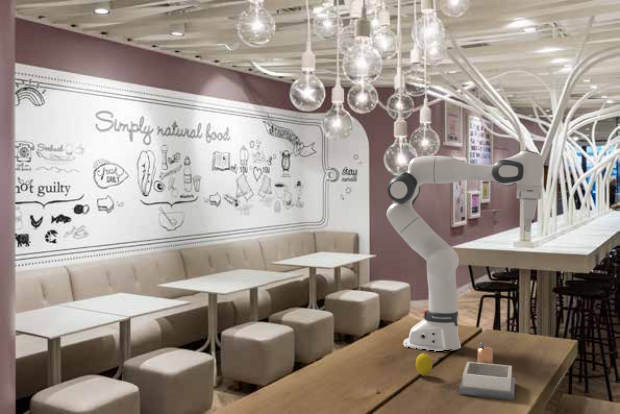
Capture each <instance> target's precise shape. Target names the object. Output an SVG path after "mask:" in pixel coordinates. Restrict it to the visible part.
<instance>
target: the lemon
mask: <svg viewBox="0 0 620 414" xmlns="http://www.w3.org/2000/svg"><path fill="white" fill-rule="evenodd" d="M415 369H416V371H417V372H418V374H420V375H421V376H423V377H426V375H428V374H430V373H431V371H432V369H433V361H432V358H431V356H430V355H429V354H427V353H426V352H421V353H419V355H418V356H416V360H415Z"/></svg>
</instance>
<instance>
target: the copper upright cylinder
mask: <svg viewBox="0 0 620 414" xmlns="http://www.w3.org/2000/svg"><path fill="white" fill-rule="evenodd" d="M493 352H494V350H493V348H492V347H489V346H485V343H484V342H480V343H479V347H477V355H476V356H477V359H476V363H487V364H494V363H493V361H494V360H493V358H494V356H493V354H494V353H493Z"/></svg>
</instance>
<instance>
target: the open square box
mask: <svg viewBox="0 0 620 414" xmlns="http://www.w3.org/2000/svg"><path fill="white" fill-rule="evenodd" d="M512 370H513V365H506V364H496V363H493V364H487V363H477V361H475V362H473V361H466V364H465V366H464V370H463V373H462V378H461V380H460V384H459V387H458V394H459V395H465V396H473V397H479V398H480V397H483V398H489V399H491V398H492V399H499V400H509V401H510V400H511V401H515V389H516V377H515V376H514V377H513V371H512Z"/></svg>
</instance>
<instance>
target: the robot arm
mask: <svg viewBox="0 0 620 414" xmlns="http://www.w3.org/2000/svg"><path fill="white" fill-rule="evenodd" d="M543 173H544V160H543V156H542V155H541V154H540V153H538V152H535V151H534V150H533V151H532V150H525V149H524V150H521V151H520V152H518V153H516V154H515V155H512V156H510V157H506V158H503V159H499V160H498V161H496V162H495V163H494V164H480V163H478V164H477V163H469V162H464V161H462V160H460V159H458V158H455V157H452V156H451V157H450V156H446V155H423V156H417V157H413V158H412V159H411V160H410V161H409V162H408V166H407V172H406V171H404V172H402V173H400V174H398V175H397V176H394V177H393V178H392V179H391V180H390V181H389V182H388V184H387V187H386V189H387V190H386V192H387V195H388V197H389V199H390V200H391V201H392V203H391V204H390V205H389V207H388V208H387V210H386V214H385V215H386V217H387V218H386V219H387V220H388V221H389V223H390V225H391V226H392V227H393V228H394V230H395V231H396V233H397V234H398V235H399V236H400V237H401V238H402V239H403V241H405V243H406V244H407V245H408V246H409V247H410V248H411V249H412V250H413V251H415V252H416V253H417V254H418V255H419V256H420V257H422V258H423V259H424V260H425V261H426V279H427V287H428V308H425V309H424V310H423V314H422V315H423V316H422V317H423V319H422V320H420V321H419V322H417V323H416V324H415V325H413V326H412V327H411V328H410V330H409V334H408V337H407V338H405V339H404V340H403V342H402V343H403V344H402V345H404V346H403V347H405V348H408V347H410V348H409V349H415V350H422V349H426V350H425V351H429V350H434V351H433V352H436V351H443V350H448V349H452V350H451V351H456V350H459V349H461V348H462V346H461V345H462V344H461V341H460V338H459V328H458V326H459V311H458V289H457V275H456V273H457V272H456V270H457V268H458V267H459V263H460V258H459V255H458V253H457V251H456V250H454V249H453V247H452V246H451V245H449V243H447V242H446V241H445V240H444V239H443V238H442V237H441V236H440V235H439V234H438V233H436V232H435V231H434V230H433V229H432V228H431V227H430V225H429V224H428V223H427V222H426V221H425V220H424V219H423V218H422V217H421V216H420V215H419V213H417V211H416V210H415V209H414V207H413V205H414V204H415V201H416V200H417V198H418V197H419V195H420V192H421V186H422V185H424V184H433V185H435V184H436V185H440V184H441V185H444V184H446V185H447V184H452V183H457V182H464V181H489V182H493V183H497V184H499V185H501V186H503V187H512V186H514V185H516V195H515V196H516V199H519V203H520V204H522V208H521V218H522V219H523V230H524V232H527V233H530V232H531V227H532V220H534V219H535V217H536V212H537V205H538V203H539V202H538V200H542V193H543V183H542V179H543V176H544V175H543ZM416 348H417V349H416Z"/></svg>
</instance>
